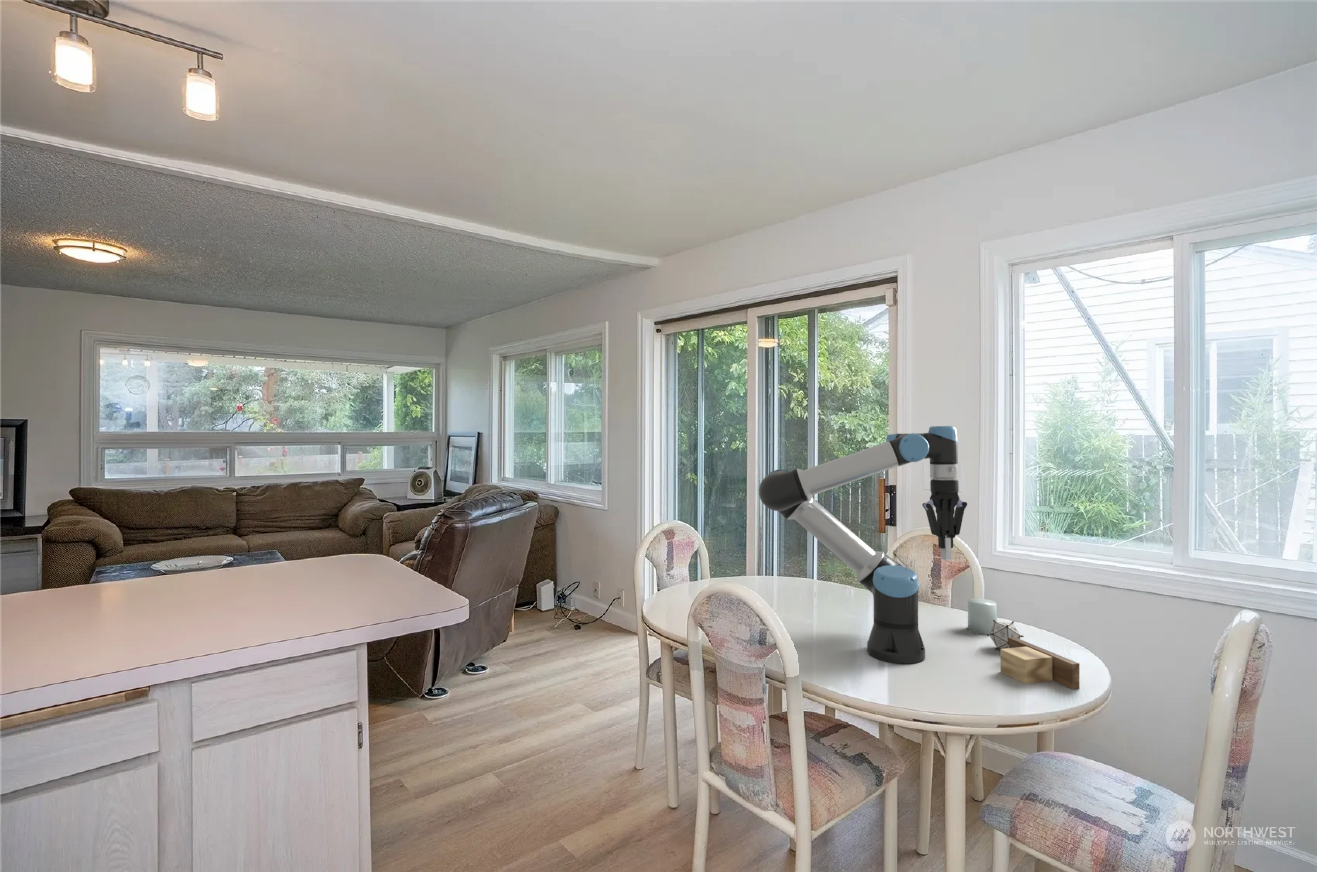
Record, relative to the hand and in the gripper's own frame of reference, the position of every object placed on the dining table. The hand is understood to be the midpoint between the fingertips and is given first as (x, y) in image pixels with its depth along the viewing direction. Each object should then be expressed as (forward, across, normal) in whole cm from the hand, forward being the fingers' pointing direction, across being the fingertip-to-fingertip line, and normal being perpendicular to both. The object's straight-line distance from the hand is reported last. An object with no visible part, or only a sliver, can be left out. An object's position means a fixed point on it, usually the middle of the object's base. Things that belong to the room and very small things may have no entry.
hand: (946, 559), depth 184 cm
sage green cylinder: (+25, +17, +9) cm, 31 cm away
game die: (+25, +12, -7) cm, 29 cm away
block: (+25, +5, -26) cm, 36 cm away
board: (+25, +10, -25) cm, 36 cm away
